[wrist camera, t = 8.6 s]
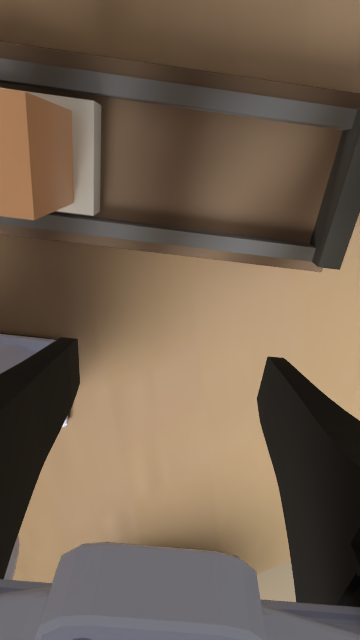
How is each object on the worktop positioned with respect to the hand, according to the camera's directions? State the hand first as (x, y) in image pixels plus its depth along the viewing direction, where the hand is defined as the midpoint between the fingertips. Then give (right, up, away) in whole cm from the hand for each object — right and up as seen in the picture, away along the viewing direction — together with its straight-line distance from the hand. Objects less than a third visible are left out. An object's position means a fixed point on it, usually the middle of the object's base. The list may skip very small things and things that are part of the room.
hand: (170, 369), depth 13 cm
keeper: (-6, +10, +5) cm, 13 cm away
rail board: (0, +11, +6) cm, 12 cm away
